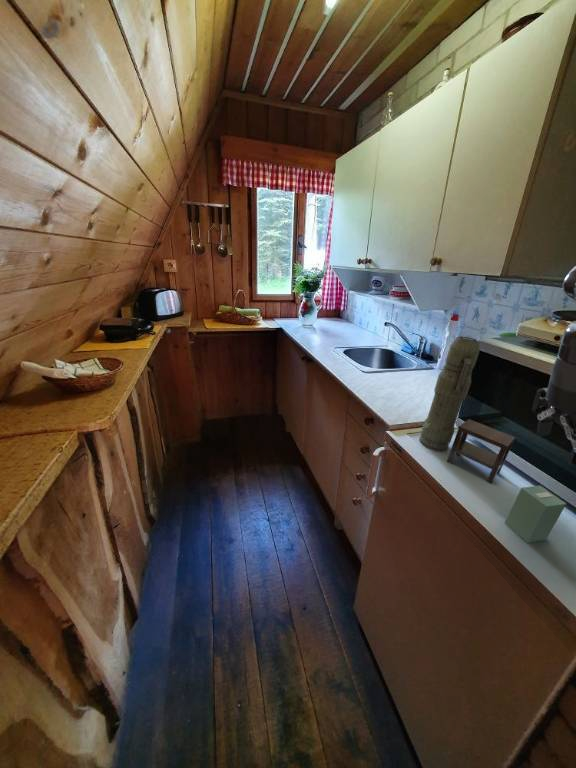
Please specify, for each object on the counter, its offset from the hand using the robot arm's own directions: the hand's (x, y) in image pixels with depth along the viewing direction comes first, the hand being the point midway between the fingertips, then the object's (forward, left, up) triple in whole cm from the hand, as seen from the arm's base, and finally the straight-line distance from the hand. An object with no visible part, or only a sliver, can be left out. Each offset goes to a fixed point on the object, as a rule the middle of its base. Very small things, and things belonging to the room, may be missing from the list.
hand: (557, 448), depth 61 cm
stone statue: (+28, -20, -21) cm, 40 cm away
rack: (+15, -17, -21) cm, 31 cm away
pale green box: (-1, 0, -21) cm, 21 cm away
